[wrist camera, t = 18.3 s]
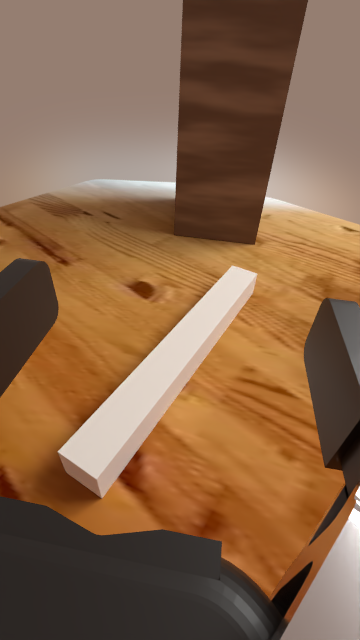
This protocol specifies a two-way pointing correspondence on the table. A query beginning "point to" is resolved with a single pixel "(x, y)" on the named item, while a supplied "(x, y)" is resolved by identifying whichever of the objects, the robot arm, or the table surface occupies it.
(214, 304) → the off-white bar
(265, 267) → the table surface
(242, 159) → the dark wooden plinth
